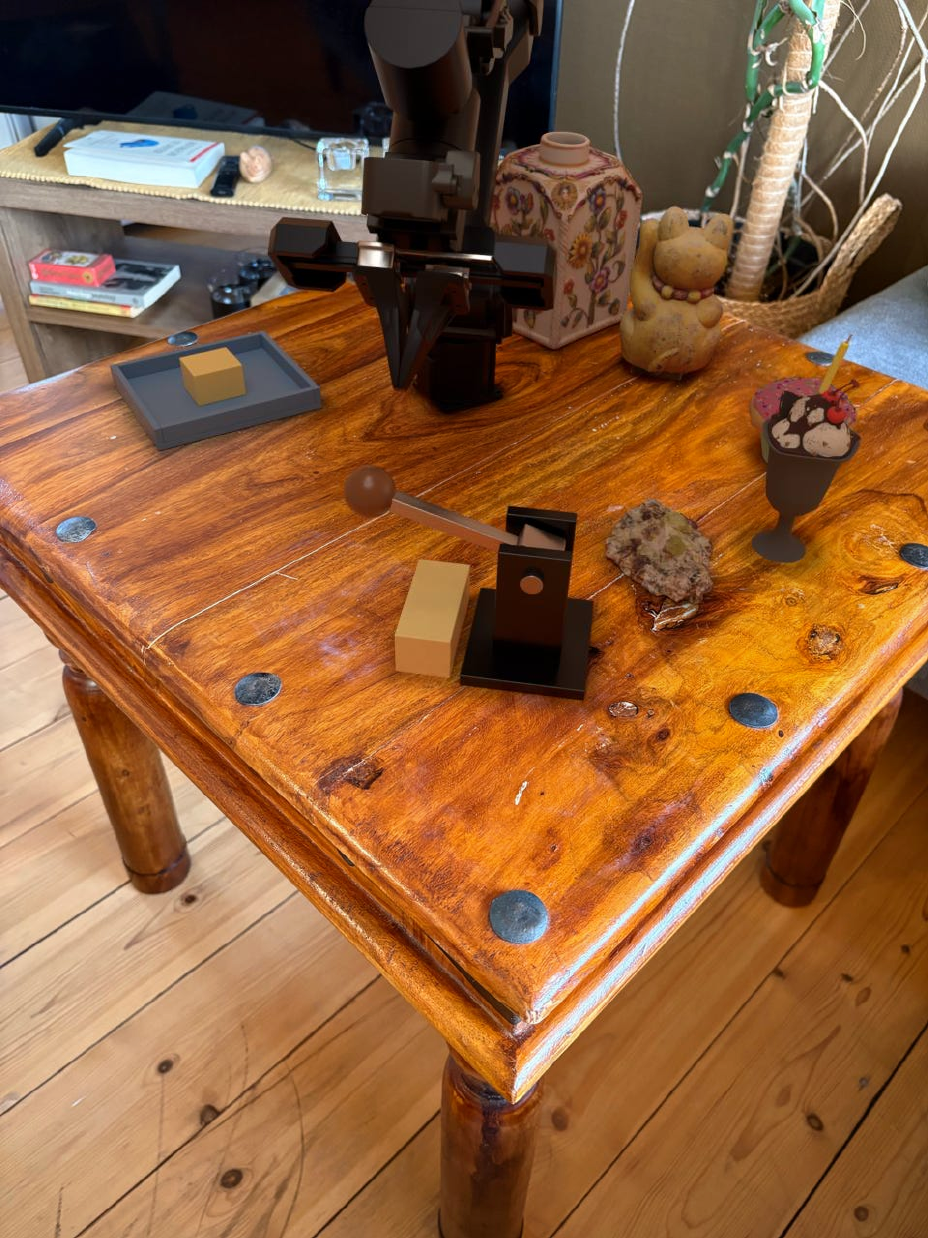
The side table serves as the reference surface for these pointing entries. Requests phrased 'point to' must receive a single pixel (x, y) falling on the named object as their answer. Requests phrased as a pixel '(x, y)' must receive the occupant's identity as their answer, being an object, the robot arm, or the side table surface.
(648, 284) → the decorative figurine
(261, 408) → the dish
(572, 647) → the slicer
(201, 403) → the butter pat
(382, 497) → the lever
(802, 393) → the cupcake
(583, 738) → the side table surface
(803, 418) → the sundae
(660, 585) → the mineral rock
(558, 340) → the decorative jar
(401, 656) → the tan rectangular block
